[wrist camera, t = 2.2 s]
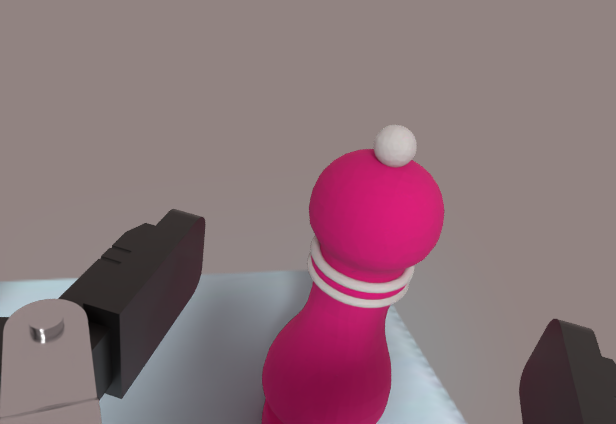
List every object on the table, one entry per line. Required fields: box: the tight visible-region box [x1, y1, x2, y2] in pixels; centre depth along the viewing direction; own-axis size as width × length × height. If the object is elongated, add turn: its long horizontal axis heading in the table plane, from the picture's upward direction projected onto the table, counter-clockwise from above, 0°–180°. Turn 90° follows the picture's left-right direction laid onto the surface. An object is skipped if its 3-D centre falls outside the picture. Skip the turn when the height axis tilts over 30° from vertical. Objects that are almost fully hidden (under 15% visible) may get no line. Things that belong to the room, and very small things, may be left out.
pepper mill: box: [262, 125, 444, 424], centre depth 27 cm, size 7×7×20 cm
